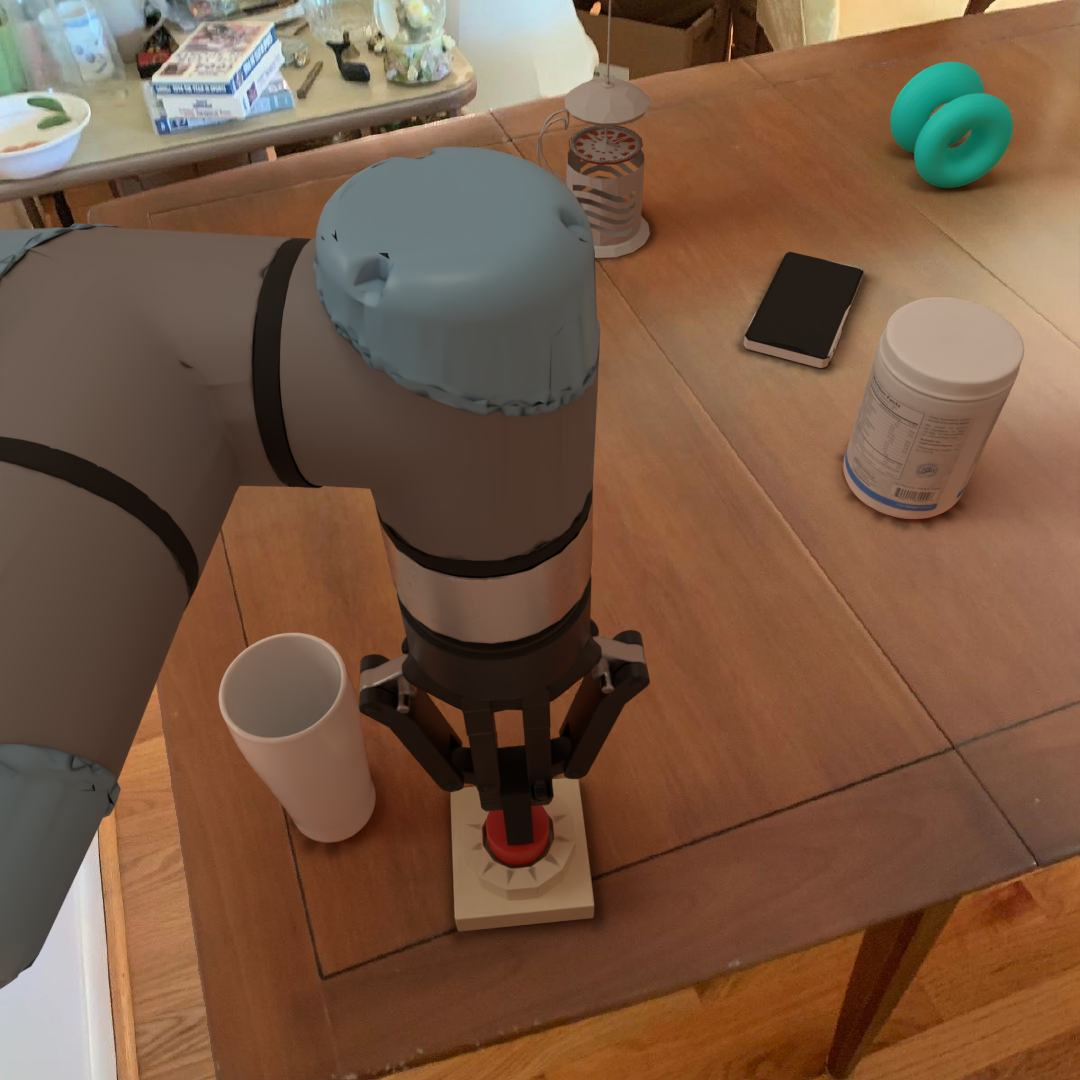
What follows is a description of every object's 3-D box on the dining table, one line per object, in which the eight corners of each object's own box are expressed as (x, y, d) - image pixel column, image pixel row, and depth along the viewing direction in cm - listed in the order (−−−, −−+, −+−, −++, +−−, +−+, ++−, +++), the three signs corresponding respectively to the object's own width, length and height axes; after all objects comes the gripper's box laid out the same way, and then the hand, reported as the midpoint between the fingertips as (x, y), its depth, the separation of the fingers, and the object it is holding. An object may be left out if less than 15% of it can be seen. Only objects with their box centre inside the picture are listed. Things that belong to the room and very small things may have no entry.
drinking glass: (384, 749, 64) (345, 621, 53) (392, 847, 60) (351, 731, 49) (281, 766, 64) (218, 640, 52) (282, 866, 60) (213, 754, 48)
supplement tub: (901, 422, 83) (954, 277, 71) (987, 492, 78) (1060, 347, 66) (814, 468, 80) (855, 323, 68) (899, 543, 74) (958, 401, 63)
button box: (457, 932, 57) (451, 909, 54) (453, 803, 62) (447, 775, 59) (593, 918, 57) (595, 894, 54) (577, 791, 62) (578, 763, 59)
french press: (645, 262, 98) (664, -2, 79) (531, 252, 99) (522, -9, 80) (654, 207, 104) (674, -50, 85) (547, 199, 106) (542, -56, 86)
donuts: (960, 141, 111) (990, 52, 104) (998, 188, 105) (1032, 98, 97) (876, 149, 111) (899, 60, 103) (909, 197, 104) (936, 106, 97)
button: (489, 868, 56) (487, 857, 54) (485, 809, 58) (484, 796, 57) (552, 862, 56) (551, 851, 54) (546, 803, 58) (545, 790, 57)
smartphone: (866, 268, 95) (829, 360, 86) (863, 279, 96) (826, 371, 87) (785, 250, 97) (741, 338, 88) (783, 260, 98) (739, 348, 89)
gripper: (647, 481, 40) (623, 750, 58) (325, 508, 39) (403, 771, 57) (680, 634, 35) (643, 875, 53) (315, 668, 34) (404, 899, 53)
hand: (518, 821), depth 55 cm, fingers closed
